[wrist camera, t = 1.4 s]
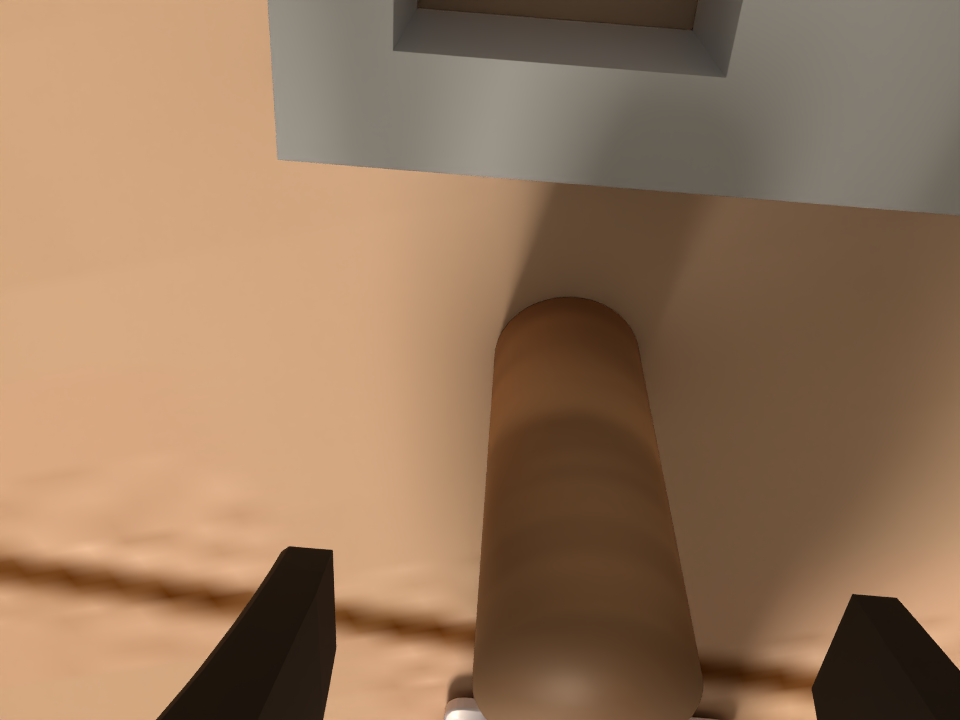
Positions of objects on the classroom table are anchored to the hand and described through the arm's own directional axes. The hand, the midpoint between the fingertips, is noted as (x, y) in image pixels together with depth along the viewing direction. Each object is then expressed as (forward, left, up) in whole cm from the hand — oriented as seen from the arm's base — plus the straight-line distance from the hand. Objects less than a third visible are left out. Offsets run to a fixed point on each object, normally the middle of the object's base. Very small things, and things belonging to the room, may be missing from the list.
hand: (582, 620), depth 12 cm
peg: (0, 0, -7) cm, 7 cm away
